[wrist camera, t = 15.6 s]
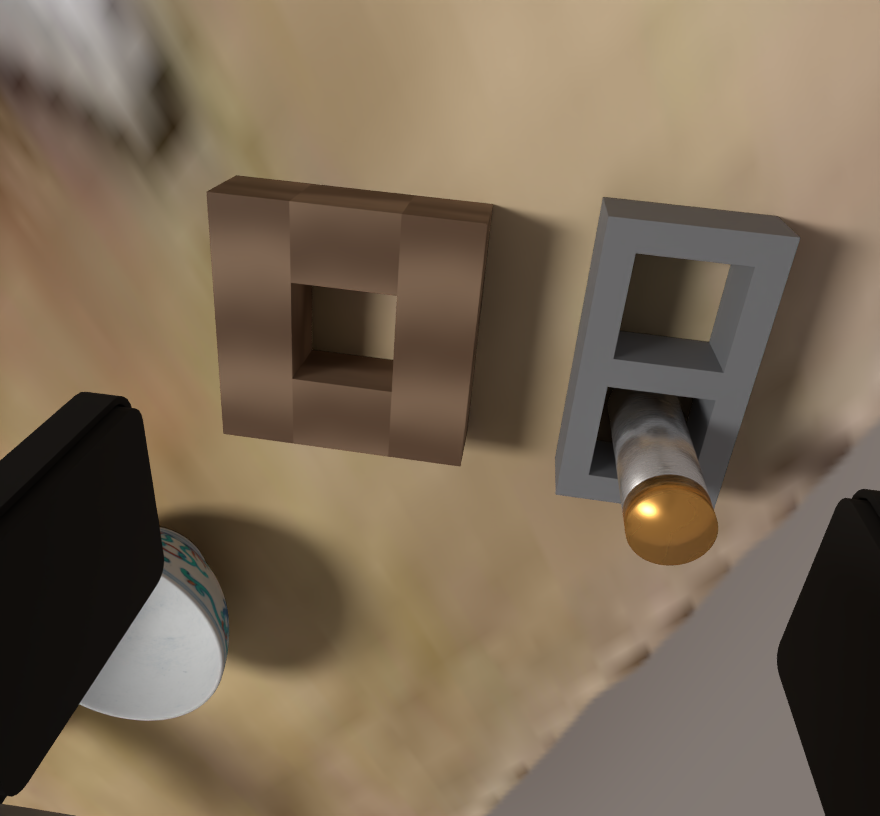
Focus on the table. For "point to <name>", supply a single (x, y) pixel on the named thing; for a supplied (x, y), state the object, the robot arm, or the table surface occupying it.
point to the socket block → (352, 268)
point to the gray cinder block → (666, 358)
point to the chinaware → (168, 643)
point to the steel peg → (659, 479)
